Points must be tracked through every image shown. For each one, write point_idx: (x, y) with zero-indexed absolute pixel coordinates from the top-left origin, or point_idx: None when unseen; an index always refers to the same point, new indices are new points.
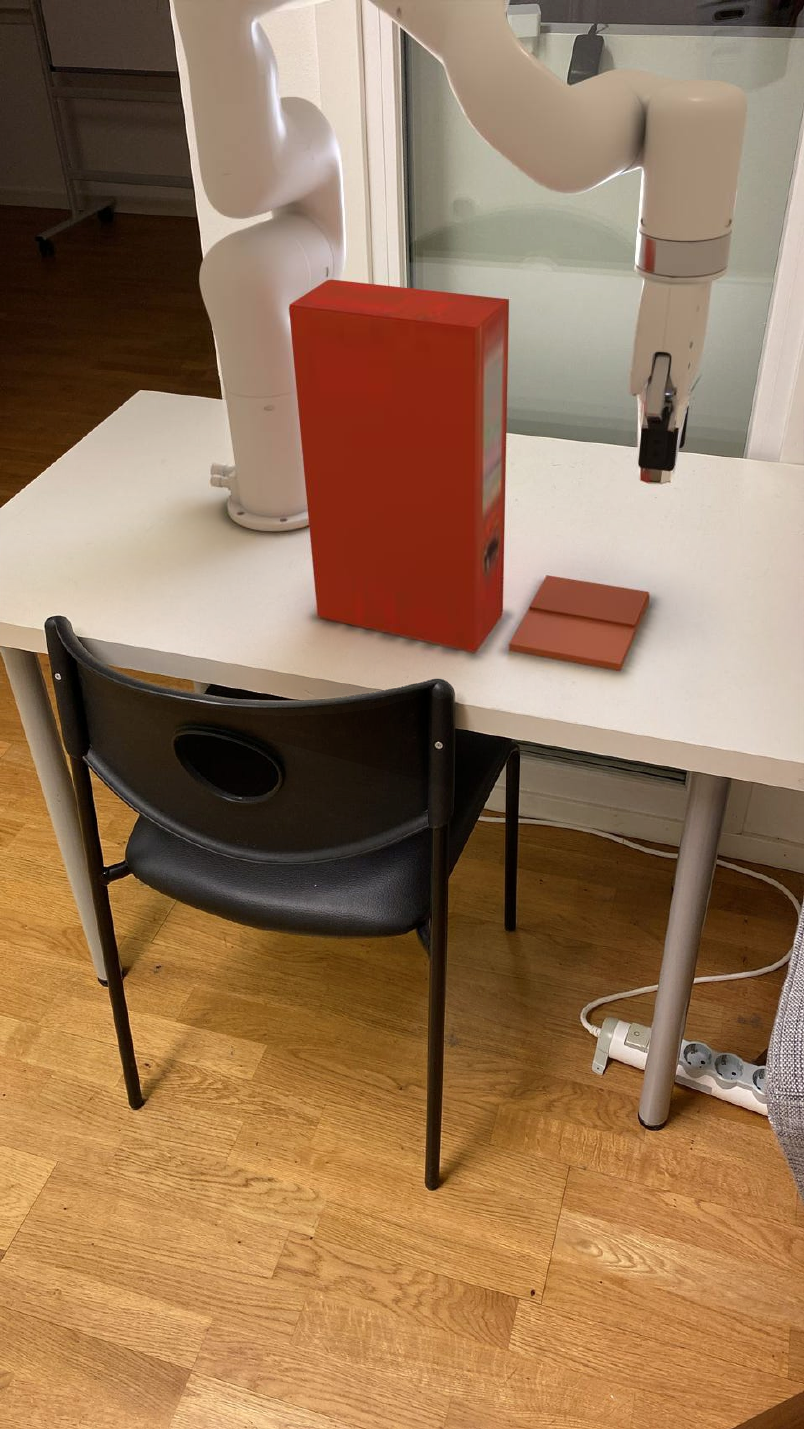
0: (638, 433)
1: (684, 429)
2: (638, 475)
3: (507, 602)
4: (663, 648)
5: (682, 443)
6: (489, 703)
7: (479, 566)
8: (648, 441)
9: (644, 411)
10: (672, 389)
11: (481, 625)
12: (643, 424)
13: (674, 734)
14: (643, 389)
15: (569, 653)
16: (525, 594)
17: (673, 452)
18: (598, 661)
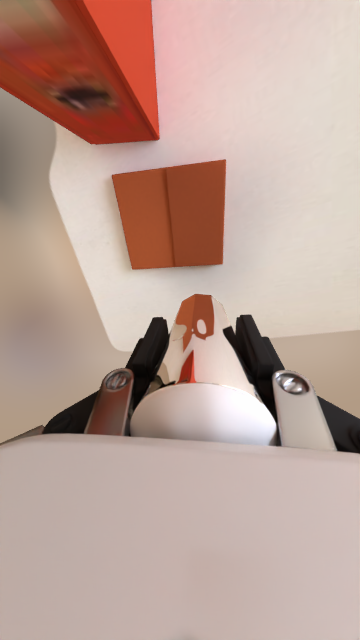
0: (187, 326)
1: None
2: (190, 297)
3: (180, 133)
4: (169, 286)
5: None
6: (53, 192)
7: (41, 100)
8: (130, 360)
9: (94, 406)
10: None
11: (98, 136)
12: (104, 380)
13: (99, 308)
14: (164, 424)
15: (125, 231)
16: (200, 147)
17: None
18: (129, 254)
